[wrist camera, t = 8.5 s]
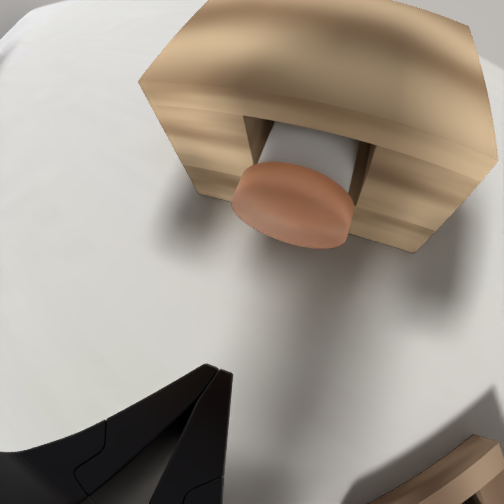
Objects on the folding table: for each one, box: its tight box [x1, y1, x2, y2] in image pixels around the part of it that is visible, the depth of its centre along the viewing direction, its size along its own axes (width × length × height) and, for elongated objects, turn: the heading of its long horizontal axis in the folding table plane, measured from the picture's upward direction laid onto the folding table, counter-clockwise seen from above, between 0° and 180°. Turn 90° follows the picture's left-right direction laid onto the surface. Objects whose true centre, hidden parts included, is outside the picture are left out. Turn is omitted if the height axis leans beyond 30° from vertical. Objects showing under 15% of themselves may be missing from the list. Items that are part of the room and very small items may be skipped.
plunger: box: [231, 121, 360, 249], centre depth 14 cm, size 8×5×5 cm, turn 161°
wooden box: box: [138, 0, 498, 253], centre depth 16 cm, size 10×14×10 cm
